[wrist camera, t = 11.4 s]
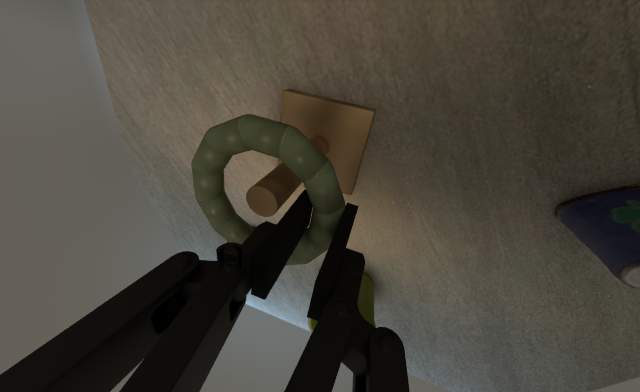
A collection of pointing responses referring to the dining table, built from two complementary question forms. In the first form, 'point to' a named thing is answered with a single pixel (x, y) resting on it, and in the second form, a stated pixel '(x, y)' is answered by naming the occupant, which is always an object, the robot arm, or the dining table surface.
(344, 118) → the post
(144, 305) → the robot arm
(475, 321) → the dining table surface
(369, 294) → the plant pot
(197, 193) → the ring
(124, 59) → the dining table surface
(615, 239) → the flask
